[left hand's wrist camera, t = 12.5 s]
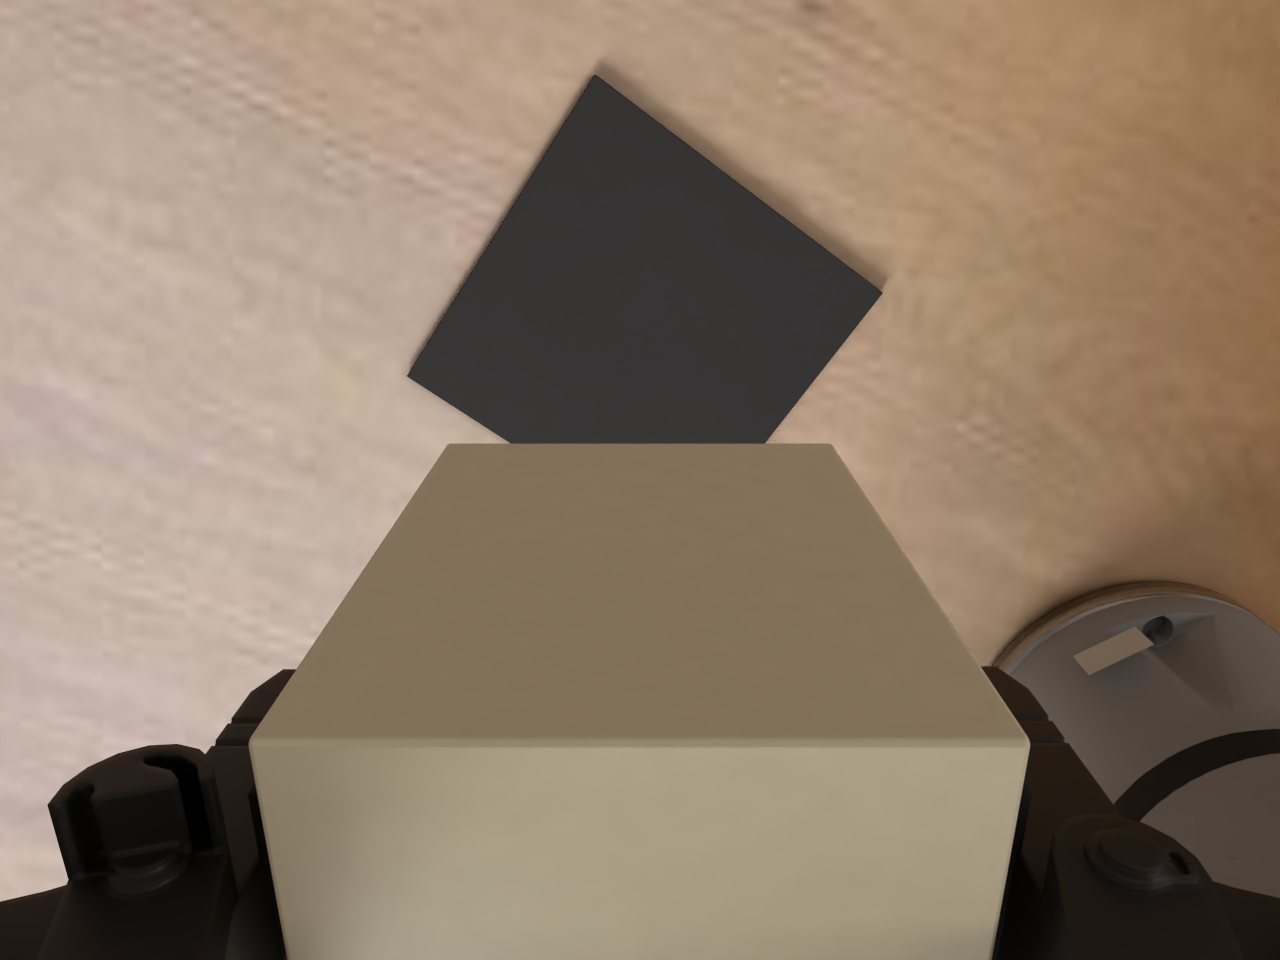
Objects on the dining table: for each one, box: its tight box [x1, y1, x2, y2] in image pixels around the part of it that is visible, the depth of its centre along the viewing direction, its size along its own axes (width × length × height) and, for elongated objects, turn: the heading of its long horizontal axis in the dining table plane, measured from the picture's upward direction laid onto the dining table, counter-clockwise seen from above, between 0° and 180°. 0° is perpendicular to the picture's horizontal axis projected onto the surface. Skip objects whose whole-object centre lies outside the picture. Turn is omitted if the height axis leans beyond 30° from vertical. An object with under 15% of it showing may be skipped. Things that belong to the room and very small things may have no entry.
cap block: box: [249, 444, 1030, 960], centre depth 10 cm, size 6×6×7 cm
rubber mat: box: [407, 75, 882, 444], centre depth 36 cm, size 14×14×1 cm
